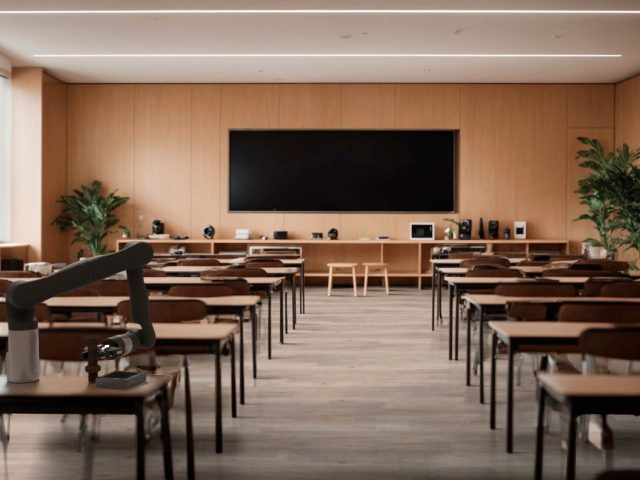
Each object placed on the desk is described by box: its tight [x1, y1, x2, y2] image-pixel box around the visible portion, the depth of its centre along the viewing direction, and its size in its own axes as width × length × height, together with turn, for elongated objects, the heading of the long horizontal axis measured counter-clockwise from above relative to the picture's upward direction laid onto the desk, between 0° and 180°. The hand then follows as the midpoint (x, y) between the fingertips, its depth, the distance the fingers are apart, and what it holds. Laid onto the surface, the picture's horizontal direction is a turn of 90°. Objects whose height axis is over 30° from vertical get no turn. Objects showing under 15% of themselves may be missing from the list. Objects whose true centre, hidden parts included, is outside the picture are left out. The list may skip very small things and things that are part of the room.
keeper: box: [95, 370, 147, 390], centre depth 228 cm, size 11×11×3 cm
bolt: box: [82, 334, 103, 384], centre depth 230 cm, size 6×5×15 cm
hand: (87, 356), depth 227 cm, fingers closed on bolt, 3 cm apart
